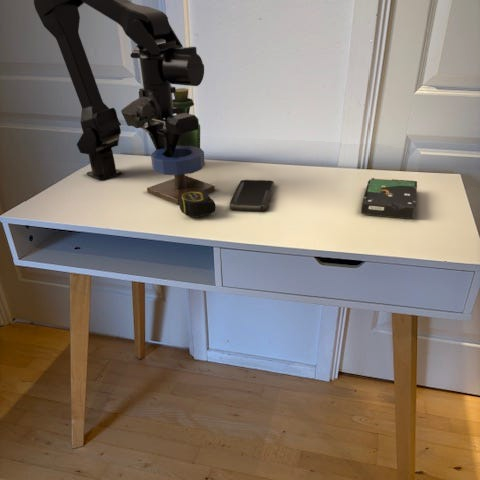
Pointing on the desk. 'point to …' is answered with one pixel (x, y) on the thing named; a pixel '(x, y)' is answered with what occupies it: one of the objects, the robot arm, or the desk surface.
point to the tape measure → (196, 204)
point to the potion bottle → (184, 107)
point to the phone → (252, 195)
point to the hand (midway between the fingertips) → (165, 158)
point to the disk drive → (390, 198)
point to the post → (179, 188)
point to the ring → (178, 161)
